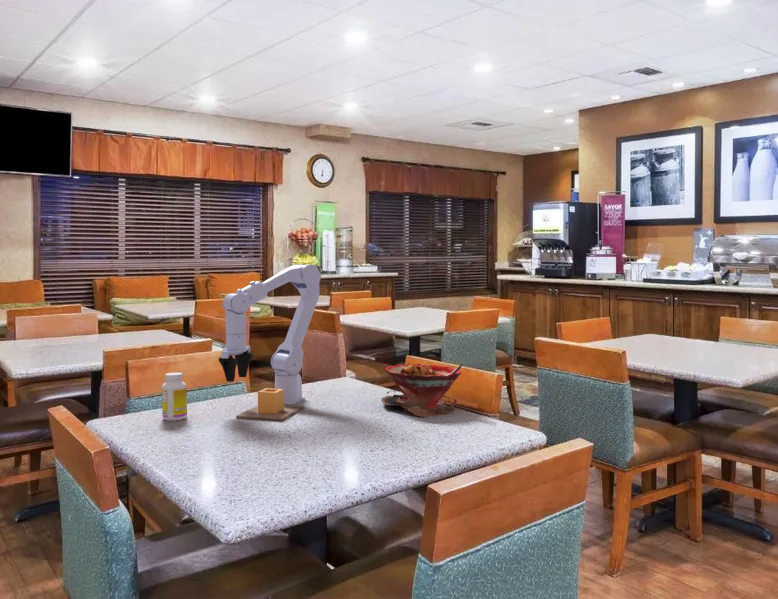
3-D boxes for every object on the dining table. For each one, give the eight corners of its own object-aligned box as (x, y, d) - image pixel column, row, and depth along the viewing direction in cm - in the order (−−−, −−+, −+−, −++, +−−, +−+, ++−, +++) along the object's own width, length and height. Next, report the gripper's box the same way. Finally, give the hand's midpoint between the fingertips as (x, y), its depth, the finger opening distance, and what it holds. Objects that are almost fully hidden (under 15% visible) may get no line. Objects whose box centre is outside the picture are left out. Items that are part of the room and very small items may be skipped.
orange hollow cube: (266, 408, 195) (266, 388, 195) (283, 409, 194) (283, 389, 193) (257, 412, 190) (257, 391, 189) (275, 413, 188) (275, 392, 188)
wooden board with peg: (261, 407, 201) (260, 389, 201) (303, 409, 198) (303, 391, 198) (236, 419, 186) (235, 399, 186) (282, 422, 182) (281, 402, 182)
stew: (485, 412, 195) (486, 358, 194) (423, 424, 181) (423, 366, 180) (425, 396, 218) (425, 348, 217) (365, 406, 203) (365, 354, 202)
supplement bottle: (190, 416, 189) (190, 372, 189) (181, 421, 183) (180, 376, 182) (168, 415, 190) (167, 371, 189) (158, 421, 183) (157, 375, 183)
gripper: (235, 331, 204) (235, 374, 204) (211, 336, 190) (212, 382, 190) (256, 331, 202) (256, 375, 203) (233, 336, 188) (234, 383, 189)
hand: (236, 379), depth 196 cm, fingers open, 7 cm apart
